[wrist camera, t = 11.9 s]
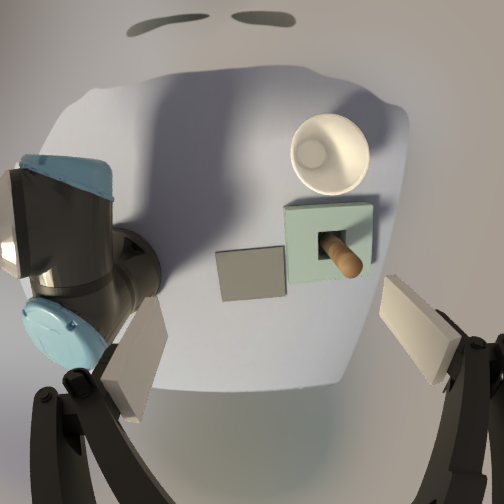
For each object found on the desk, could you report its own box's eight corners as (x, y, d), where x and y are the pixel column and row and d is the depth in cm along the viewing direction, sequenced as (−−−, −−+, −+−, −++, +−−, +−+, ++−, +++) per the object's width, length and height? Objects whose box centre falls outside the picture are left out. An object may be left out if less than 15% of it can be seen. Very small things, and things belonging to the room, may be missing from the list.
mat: (222, 300, 48) (222, 301, 48) (215, 252, 45) (215, 253, 45) (285, 295, 48) (285, 296, 48) (282, 246, 45) (282, 247, 45)
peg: (318, 248, 45) (340, 279, 34) (318, 231, 44) (341, 257, 33) (335, 247, 45) (362, 277, 34) (336, 230, 44) (363, 255, 33)
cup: (352, 164, 40) (383, 168, 30) (303, 197, 42) (320, 211, 32) (318, 112, 38) (341, 99, 27) (266, 145, 40) (273, 141, 29)
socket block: (287, 276, 47) (289, 284, 44) (283, 206, 43) (285, 210, 40) (363, 268, 47) (369, 275, 44) (365, 201, 43) (373, 205, 40)
